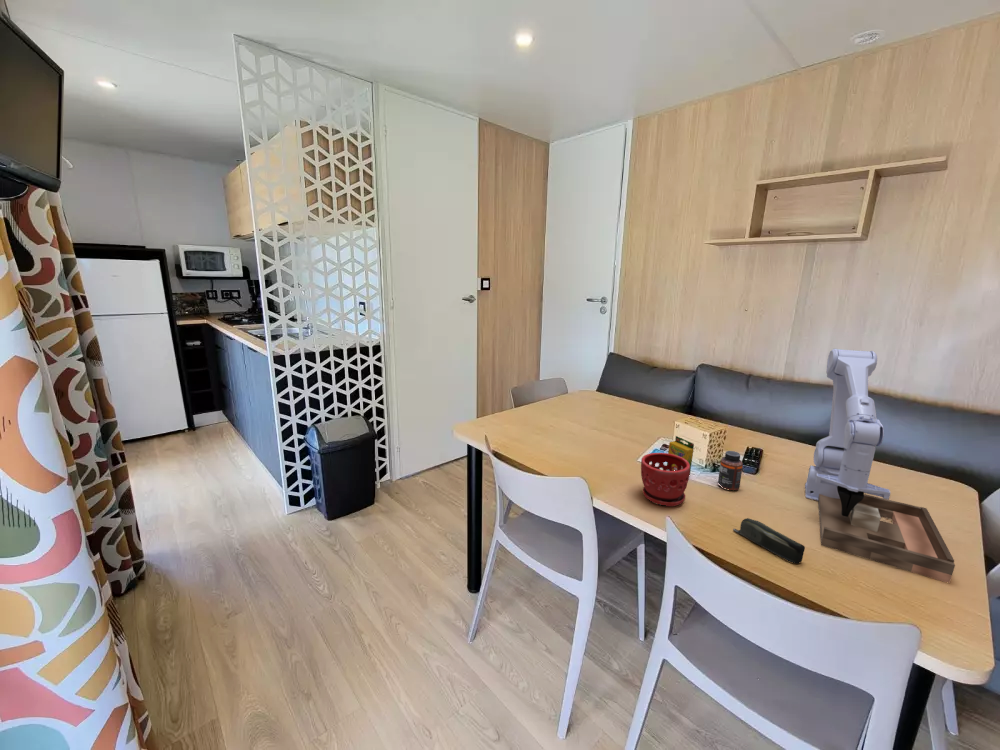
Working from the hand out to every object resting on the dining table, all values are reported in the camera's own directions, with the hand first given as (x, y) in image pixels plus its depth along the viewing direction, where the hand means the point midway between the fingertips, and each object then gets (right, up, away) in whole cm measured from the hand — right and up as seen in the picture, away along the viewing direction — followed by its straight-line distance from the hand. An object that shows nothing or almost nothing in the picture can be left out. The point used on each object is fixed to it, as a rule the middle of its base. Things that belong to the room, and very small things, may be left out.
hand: (844, 514), depth 108 cm
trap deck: (+5, -4, -3) cm, 7 cm away
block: (+3, -2, -2) cm, 4 cm away
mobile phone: (-26, -5, -8) cm, 27 cm away
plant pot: (-43, 0, +14) cm, 45 cm away
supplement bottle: (-19, +2, +20) cm, 28 cm away
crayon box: (-31, +4, +29) cm, 43 cm away
